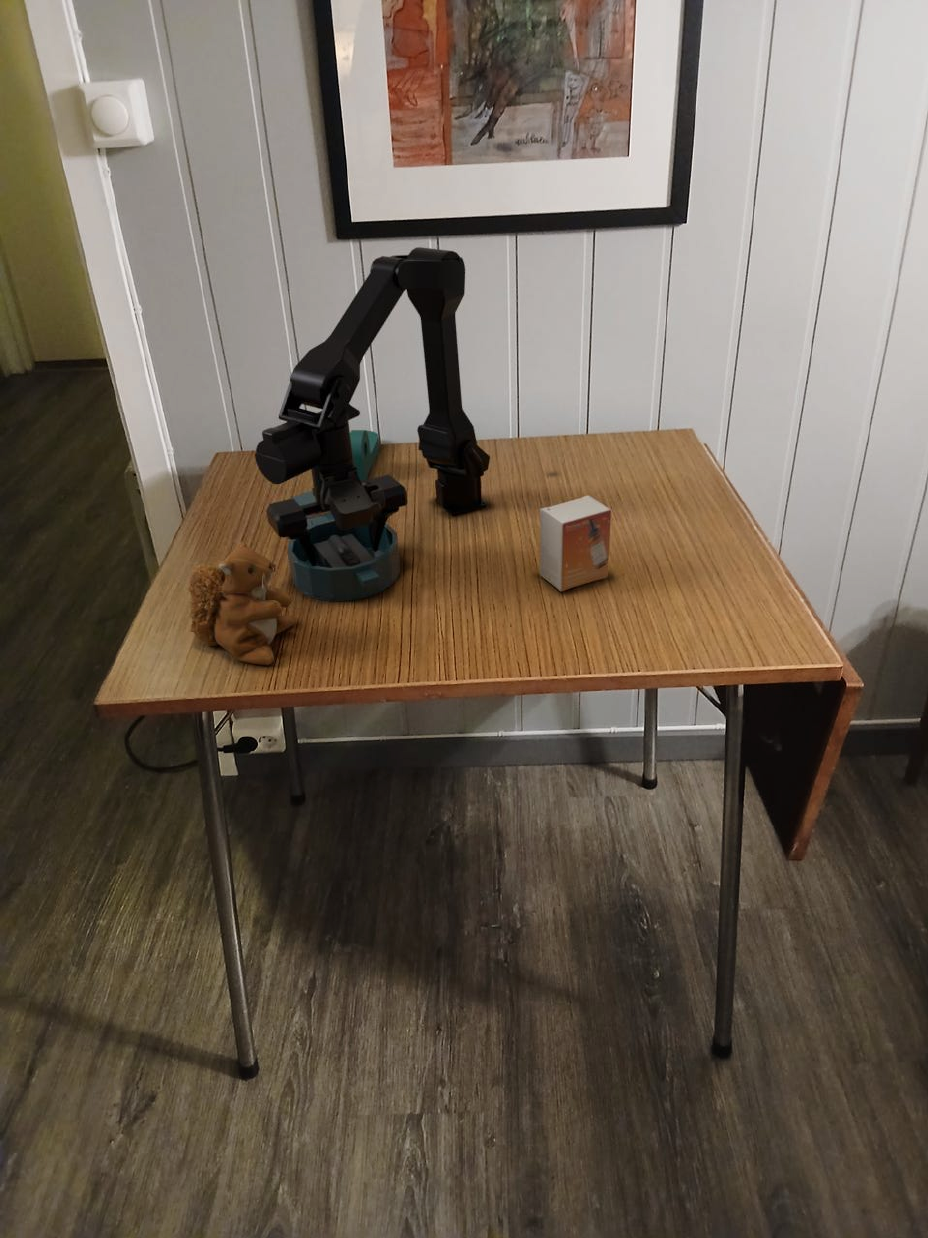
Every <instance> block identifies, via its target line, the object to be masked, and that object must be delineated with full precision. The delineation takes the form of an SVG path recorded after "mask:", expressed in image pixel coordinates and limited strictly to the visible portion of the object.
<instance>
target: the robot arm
mask: <svg viewBox="0 0 928 1238" xmlns="http://www.w3.org/2000/svg"><path fill="white" fill-rule="evenodd" d="M369 269H370V270H369V273H368V275H367V277H366V279H364V282H363V283H362V285H360V288H359V290H358V291H357V293H356V294H355V296H354V297H353V298H352V300H351V302H350V303H349V305H348V306H347V308H346V310H345V311H344V313H343V315H342V316H341V318H340V320H339V321H338V322H337V324H336V325H335V327H334V329H333V330H332V332H331V333H330V335H329V336H328V337H327V338H326V339H325V340H324V341H323V342H321V343H319V344H318V345H316V346H314V347H313V348H311V349H310V350H308V351H307V353H306V354H305V355H303V357H302V358H301V359H300V360H299V362H298V363H297V364H296V365H295V366H294V368H293V369H292V371H291V374H290V377H289V384H288V387H287V390H286V393H285V396H284V399H283V402H282V404H281V408H280V410H279V414H278V419H279V420H281V421H284V423H282V424H280V425H277V426H274V427H268V428H266V429H264V430H262V432H261V436H262V440H260V441H259V442H258V444H257V445H256V450H255V453H254V458H255V459H254V460H255V463H256V466H257V468H258V470H259V471H260V473H261V474H262V476H263V477H264V478H265V479H266V480H267V481H268V482H269V483H271V484H274V485H281V484H283V483H285V482H288V481H290V480H292V479H293V478H296V477H298V476H300V475H302V474H304V473H306V472H309V471H310V470H311V476H312V484H313V487H312V490H311V491H313V495H314V496H315V498H316V502H314V503H310V504H306V505H302V506H299V504H298V503H297V502H296V501H295V500H294V499H293V497H291V498H292V499H291V498H288V499H285V500H279V501H276V502H271V503H269V504H268V506H267V508H266V510H265V512H266V513H265V514H266V517H267V522H268V524H269V525H270V527H271V528H272V529H273V530H274V532H275V533H276V535H277V536H278V537H279V538H287V539H288V540H289V541H290V540H295V539H297V541H298V543H299V544H300V546H301V548H302V550H303V551H304V553H305V555H306V557H307V558H308V560H309V562H310V564H311V565H312V566H317V565H316V558H315V554H314V550H313V547H312V543H311V539H310V538H311V533H310V531H309V530H308V529H307V526H308V524H307V519H310V518H314V517H317V516H321V515H325V514H329V513H331V514H332V516H333V518H334V520H335V521H336V523H337V526H338V528H339V529H341V530H350V529H352V528H354V527H358V526H361V525H368V526H369V536H370V542H371V546H372V549H373V551H374V552H376V551H378V547H379V543H380V540H381V536H382V533H383V529H384V526H385V524H387V522H388V520H389V518H390V517H391V516H392V515H394V514H396V513H398V512H399V511H400V508H402V507H406V506H407V505H408V503H409V502H408V492H407V490H406V487H405V486H404V485H403V484H402V483H401V482H399V481H398V480H397V479H396V478H395V477H394V476H392V475H391V474H388V473H387V474H383V475H381V476H377V477H373V478H368V479H366V481H365V483H363V482H361V481H360V479H359V477H358V471H357V467H356V466H355V465H354V463H353V455H352V446H351V438H350V432H351V430H350V423H349V421H350V420H352V419H355V418H357V417H359V416H360V415H361V411H360V410H359V409H357V408H356V407H354V406H353V405H351V401H352V399H353V396H354V394H355V392H356V390H357V388H358V385H359V383H360V381H361V364H362V361H363V358H364V357H365V355H366V353H367V352H368V350H369V349H370V347H371V346H372V344H373V343H374V341H375V339H376V337H377V336H378V334H379V333H380V331H381V329H382V328H383V326H384V325H385V323H386V321H387V320H388V318H389V317H390V316H391V313H392V311H393V310H394V308H395V307H396V305H397V304H398V303H399V300H400V299H401V297H402V296H403V294H404V292H405V291H406V294H407V298H408V299H409V302H410V303H411V304H412V306H413V307H414V309H415V310H416V313H417V314H418V315H419V319H420V326H421V327H420V328H421V338H422V348H423V359H424V366H425V368H424V369H425V377H426V388H427V398H428V409H429V410H428V414H427V416H426V418H425V420H424V422H423V423H422V424H420V425H418V426H417V428H416V429H417V430H416V431H417V435H418V450H419V451H421V455H422V457H423V458H424V459H425V460H426V463H427V465H428V468H429V469H435V470H436V475H437V478H436V479H435V481H434V487H435V498H434V502H435V503H436V504H437V505H438V506H439V507H441V508H442V510H444V511H445V512H446V513H447V514H449V515H450V516H456V515H460V514H463V513H467V512H472V511H474V510H478V509H481V508H485V507H487V506H488V503H487V502H486V501H485V500H483V496H482V477H483V476H485V472H487V471H488V470H489V466H490V462H491V456H490V455H489V454H488V453H487V452H486V451H485V450H484V449H483V448H482V447H480V446H479V444H478V442H477V437H476V432H475V431H476V430H475V427H474V424H473V423H472V422H471V420H470V419H469V417H468V415H467V414H466V412H465V410H464V408H463V398H462V387H461V386H462V385H461V373H460V360H459V346H458V333H457V332H458V331H457V321H456V319H457V318H456V313H457V311H458V308H459V306H460V305H461V303H462V301H463V299H464V296H465V291H466V289H465V288H466V266H465V261H464V258H463V257H461V256H460V255H459V254H458V252H457V251H454V250H447V249H438V248H430V247H422V246H418V247H417V246H416V247H415V248H413V249H411V250H410V252H409V253H408V254H399V255H397V254H396V255H390V256H385V255H381V256H379V257H377V258H375V259H374V260H373V261H372V262H371V265H370V268H369ZM302 405H304V406H307V407H311V408H315V409H320V411H318V412H315V411H311V410H307V409H304V408H301V406H302Z"/></svg>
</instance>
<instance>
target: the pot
mask: <svg viewBox="0 0 928 1238" xmlns="http://www.w3.org/2000/svg"><path fill="white" fill-rule="evenodd" d="M311 523H312V525H311V526H309V527H307V529H308V530H309V531H310V533H311V538H310V539H311V543H312V547H313V550H314V545H313V544H316V543H320V542H323V541H327V540H329V538H330V537H331V536H332V535H338V536H340V537H342V536H346V535H349V534H352V535H353V536H354V537H355V538H356V539H357V540H358V541H359V542H360V543H361V545H362V546H363V547H364V548H365V549H366V550H367V551H368V552H369V553H370V554H371V555H372V557H373V558H374V559H373V560H371V561H368V562H365V563H361V564H358V565H354V566H348V567H336V568H327V567H321V566H320V565H319V564H318V563H317V561H316V565H317V566H312V565H311V564H310V562H309V560H308V558H307V557H306V555H305V553H304V551H303V550H302V548H301V546H300V544H299V543H298V541H297V539H295V540H290V539H289V541H288V545H287V551H286V552H287V553H286V555H287V559H288V565H289V570H290V576H291V580H292V582H293V585H294V587H295V589H297V590H298V591H299V593H301V594H303V595H305V596H306V597H309V598H312V599H315V600H320V601H326V602H348V601H357V600H361V599H364V598H368V597H370V596H374V595H377V594H379V593H382V592H383V591H384V590H386V589H388V588H389V587H390V586H391V585H393V584H394V583H395V582H396V581H397V579H398V578H399V576H400V574H401V559H400V547H399V539H398V538H399V537H398V533H397V532H396V530H395V529H394V528H393V527H391V526H390V525H389V524H387V523H386V524H385V526H384V529H383V533H382V536H381V540H380V543H379V547H378V551H376V552H374V551H373V549H372V546H371V542H370V536H369V526H368V525H361V526H358V527H354V528H352V529H350V530H341V529H339V528H338V526H337V523H336V521H335V520H334V519H332V520H328V518H327V517H323V518H319V519H315V520H312V521H311ZM314 554H315V552H314Z"/></svg>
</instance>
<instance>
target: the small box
mask: <svg viewBox="0 0 928 1238" xmlns="http://www.w3.org/2000/svg"><path fill="white" fill-rule="evenodd" d="M539 518H540V519H539V575H540V576H541V577H542V578H543V579H545V580H546V581H547V582H548V583H549V584H551V585H552V586H553V587H554V588H556V589H557V590H558V591H559V592H565V591H567V590H569V589H573V588H576V587H579V586H582V585H585V584H589V583H592V582H595V581H598V580H604V579H606V578H608V576H609V562H610V543H611V542H610V541H611V519H612V510H611V509H610V508H609V507H607V506H606V505H604V504H603V503H601V502H600V501H598V500H597V499H595V498H593V497H592V496H591V495H589V494H588V495H584V496H582V497H579V498H576V499H572V500H569V501H565V502H562V503H558V504H555V505H551V506H546V507H542V508H540V509H539Z"/></svg>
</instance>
